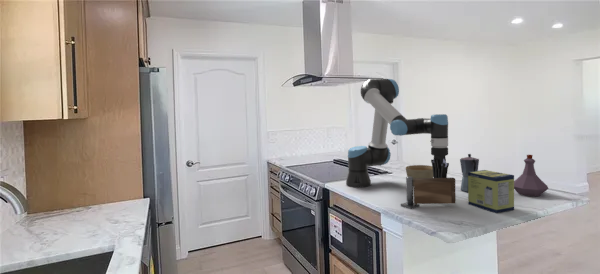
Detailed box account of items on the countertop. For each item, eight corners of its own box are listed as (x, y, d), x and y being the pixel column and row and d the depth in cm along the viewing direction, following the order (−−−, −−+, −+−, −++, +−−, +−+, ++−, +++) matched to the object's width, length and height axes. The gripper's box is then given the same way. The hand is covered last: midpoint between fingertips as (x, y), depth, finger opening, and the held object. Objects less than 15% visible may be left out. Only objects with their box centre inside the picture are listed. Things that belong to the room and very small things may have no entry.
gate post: (400, 206, 156) (400, 176, 155) (409, 203, 159) (409, 175, 158) (410, 209, 151) (410, 179, 150) (419, 206, 154) (419, 177, 153)
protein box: (484, 201, 158) (484, 169, 157) (514, 210, 143) (515, 175, 142) (467, 204, 154) (467, 171, 153) (496, 213, 140) (496, 177, 139)
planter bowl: (403, 182, 203) (403, 165, 202) (431, 182, 201) (430, 164, 200) (408, 189, 187) (408, 170, 186) (438, 188, 185) (438, 169, 184)
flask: (517, 188, 178) (518, 151, 176) (554, 194, 165) (555, 154, 163) (504, 194, 168) (504, 155, 167) (542, 200, 155) (542, 158, 154)
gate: (413, 202, 156) (413, 178, 155) (453, 202, 154) (453, 177, 153) (415, 204, 153) (414, 179, 152) (455, 203, 151) (455, 178, 150)
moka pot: (473, 187, 184) (473, 152, 183) (486, 194, 169) (486, 156, 167) (455, 187, 185) (455, 152, 184) (467, 194, 170) (467, 156, 168)
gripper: (425, 145, 163) (426, 192, 165) (438, 148, 150) (439, 199, 152) (440, 145, 163) (440, 191, 165) (454, 147, 150) (454, 198, 152)
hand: (439, 195), depth 158 cm, fingers closed
